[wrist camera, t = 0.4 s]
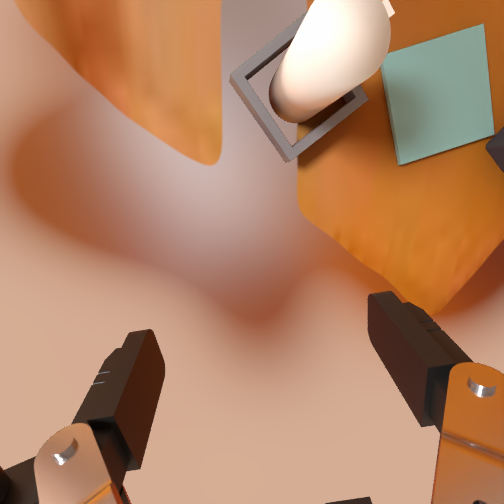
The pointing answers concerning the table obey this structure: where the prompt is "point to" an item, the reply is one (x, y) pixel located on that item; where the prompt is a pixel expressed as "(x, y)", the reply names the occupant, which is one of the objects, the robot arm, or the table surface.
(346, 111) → the holder
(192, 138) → the table surface
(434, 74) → the coaster pad
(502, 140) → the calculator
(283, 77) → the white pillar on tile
